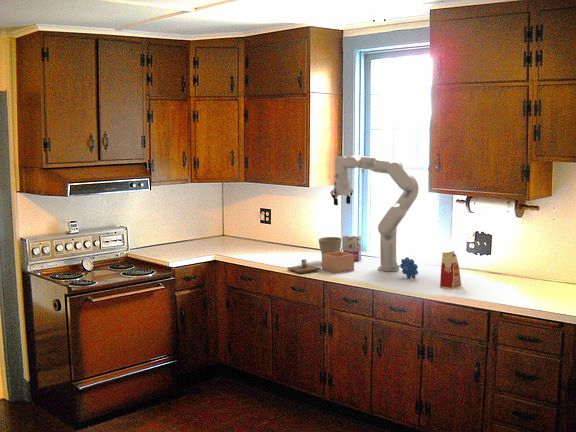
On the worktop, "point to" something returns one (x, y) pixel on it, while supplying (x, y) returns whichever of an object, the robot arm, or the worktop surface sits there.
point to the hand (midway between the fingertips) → (342, 204)
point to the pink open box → (338, 262)
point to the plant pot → (330, 244)
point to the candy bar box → (352, 246)
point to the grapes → (409, 267)
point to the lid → (304, 268)
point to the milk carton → (450, 271)
